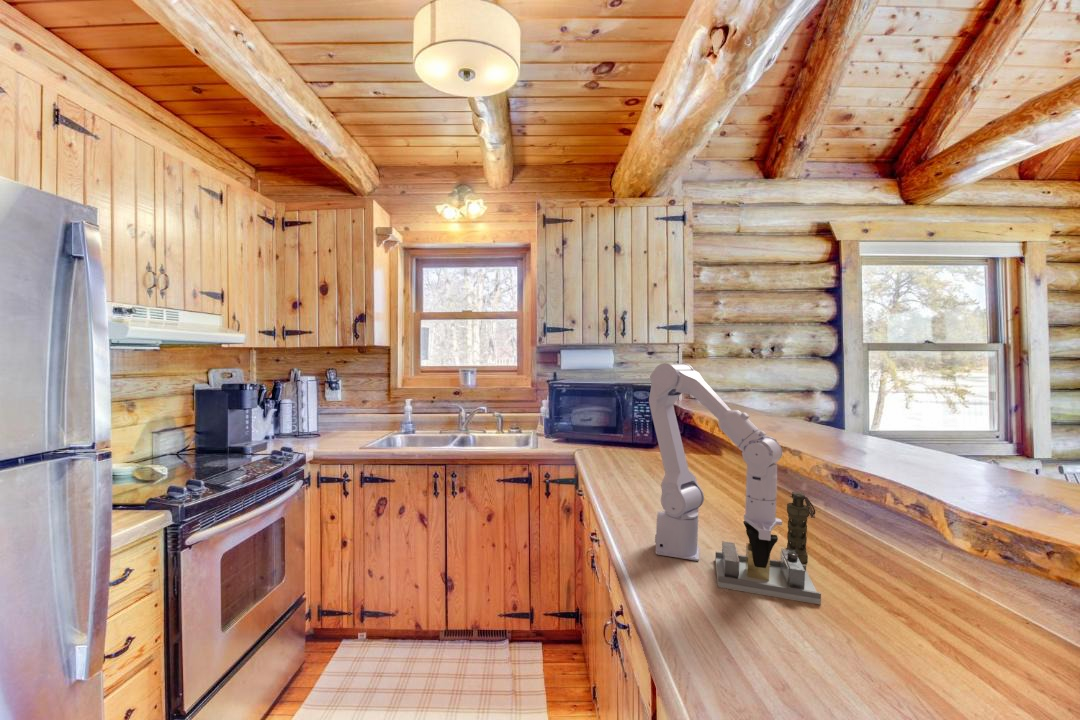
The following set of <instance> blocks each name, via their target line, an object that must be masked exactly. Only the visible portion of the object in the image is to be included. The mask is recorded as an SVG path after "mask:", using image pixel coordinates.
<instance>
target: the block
mask: <svg viewBox="0 0 1080 720" xmlns="http://www.w3.org/2000/svg"><path fill="white" fill-rule="evenodd" d="M745 546H746V548H745V556H746V568H745V569H746V573H747V577H750V578H756V579H762V580H768V581H769V569H770V560H771V555H770V556H769V560H768V563H767V566H766V568H761V567H755V565H754V561H753V555H752V547H751V544H750V543H749V542H747V543H746V544H745Z"/></svg>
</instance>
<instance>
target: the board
mask: <svg viewBox="0 0 1080 720" xmlns="http://www.w3.org/2000/svg"><path fill="white" fill-rule="evenodd" d="M738 557H739V576H738V579H736V578H730V577H724V572H723V565H722V551H715V555H714V558H715V559H714V561H715V562H714V563H715V572H716V580H717V581H716V582H717V587H718V588H721V589H726V588H727V589H728V590H734V591H737V592H738V591H739V592H744V593H751V594H757V595H763V596H768V597H773V598H774V597H775V598H779V599H780V598H781V599H785V600H792V601H797V602H803V603H809V604H815V605H819V606H820V605H822V593H821V591H820V592H819V591H817V589H816V587H815V585H814V583H813V581H812V579H811V577H810V575H809V573H808V571H807V565H806V564H804V563H801V564H802V566H803V568H804V570H805V585H804V590H803V589H797V588H791V587H789V586H788V584H787V581H786V579H785V576H784V574H783V571H782V569H781V566H780V561H781V560H775V559H770V569H769V581H768V580H762V579H756V578H750V577H747V573H746V569H745V568H746V555H742V554H738Z"/></svg>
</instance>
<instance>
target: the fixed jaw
mask: <svg viewBox="0 0 1080 720" xmlns="http://www.w3.org/2000/svg"><path fill="white" fill-rule="evenodd" d="M721 552H722V565H723V572H724V577H730V578H736V579H738V576H739V557H738V555H739V553H738V549H737V546H736V544H735V542H730V541H722V544H721Z"/></svg>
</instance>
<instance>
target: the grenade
mask: <svg viewBox="0 0 1080 720" xmlns="http://www.w3.org/2000/svg"><path fill="white" fill-rule="evenodd" d="M789 498H792V502H788V503H786V513H787V516H788V517H787V518H788V520H787V535H786V537H787V538H786V539H787V545H786V547H785V548H784V549H789V550H795V552H796V554H798V558H799V560H800V562H801V564H805V563H808V558H809V557H808V556H809V555H808V552H807V541H808V539H807V538H808V537H807V533H808V518H809V517H810V518H811V519H816V509H815V507H814V505H813V503H812V502H811V501H810V499H809V498H808V496H806V495H805V492H798V491H792V492H791V495H790V496H789ZM804 501H805V504H804Z"/></svg>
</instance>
